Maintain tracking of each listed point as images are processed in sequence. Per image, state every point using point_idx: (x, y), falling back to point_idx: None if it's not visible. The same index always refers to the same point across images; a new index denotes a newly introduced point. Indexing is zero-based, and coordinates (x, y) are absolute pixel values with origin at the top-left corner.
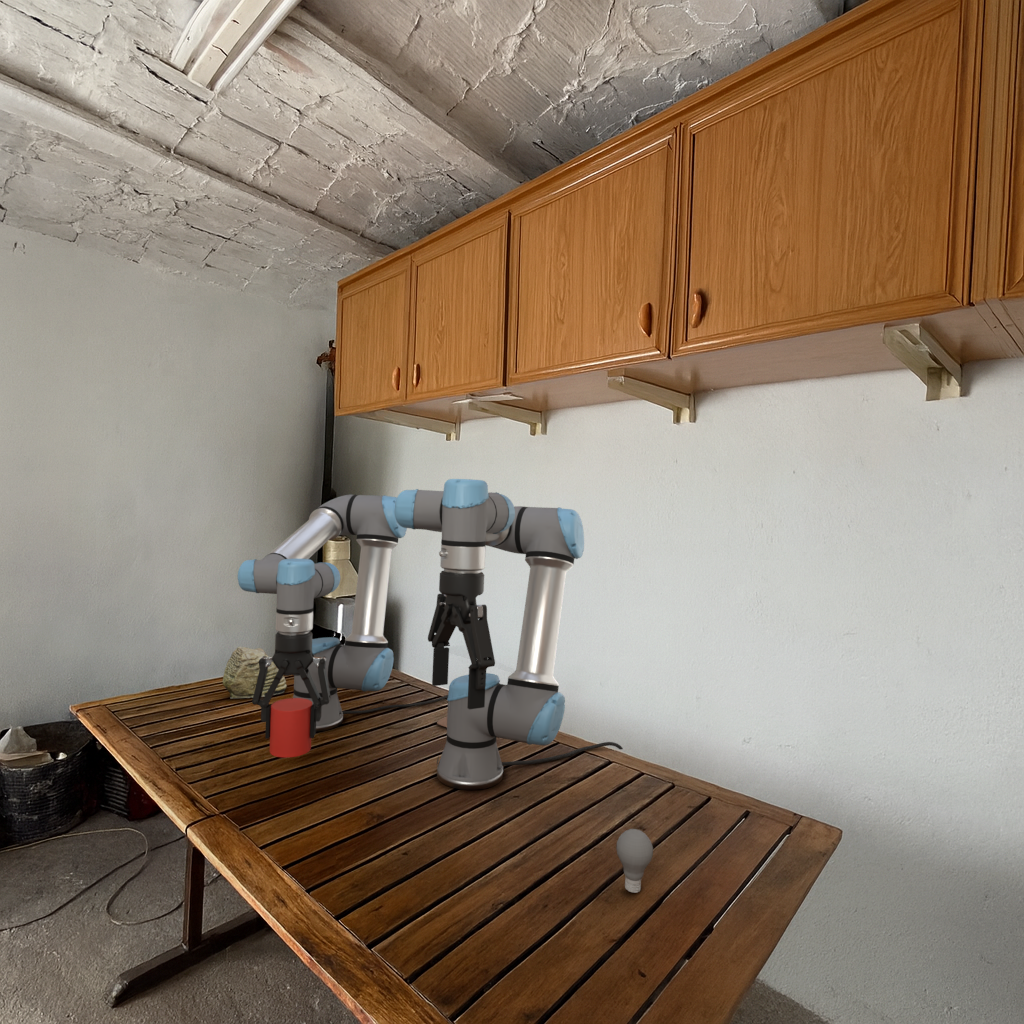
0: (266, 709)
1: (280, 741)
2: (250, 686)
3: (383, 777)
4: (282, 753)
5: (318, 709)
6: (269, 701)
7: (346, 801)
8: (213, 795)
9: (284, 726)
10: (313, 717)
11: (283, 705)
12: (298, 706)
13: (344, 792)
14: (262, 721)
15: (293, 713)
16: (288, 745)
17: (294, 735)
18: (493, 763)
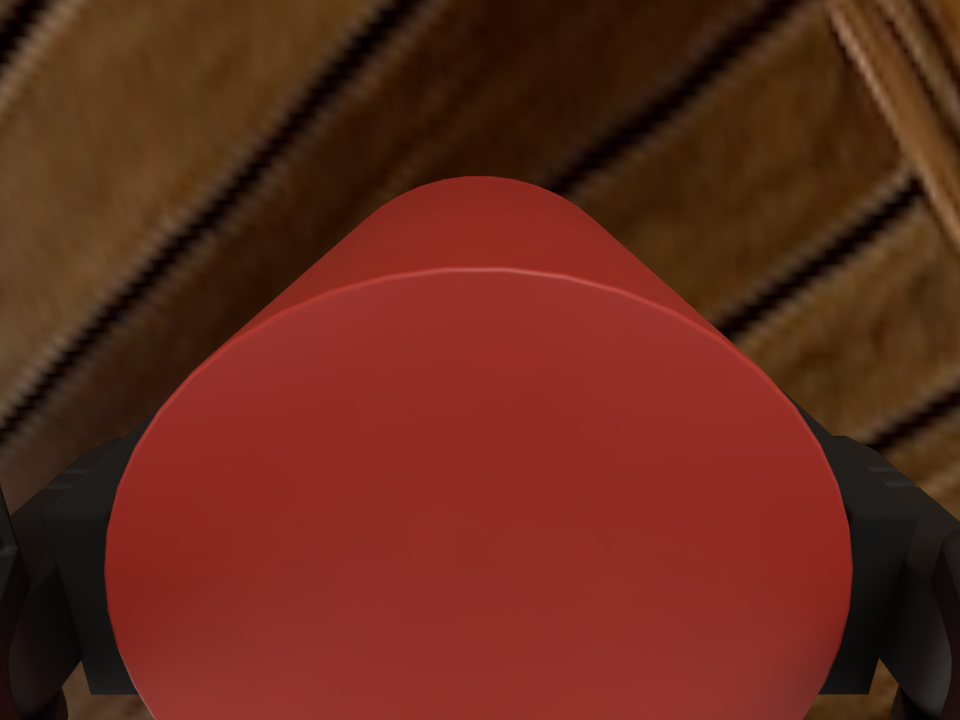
0: (900, 499)
1: (547, 201)
2: None
3: (7, 393)
4: (513, 181)
5: (20, 534)
6: (902, 714)
7: (116, 103)
8: (877, 213)
9: (518, 222)
10: (142, 432)
11: (622, 583)
12: (324, 528)
13: (163, 221)
14: (839, 436)
15: (361, 269)
16: (459, 188)
17: (390, 214)
18: None
